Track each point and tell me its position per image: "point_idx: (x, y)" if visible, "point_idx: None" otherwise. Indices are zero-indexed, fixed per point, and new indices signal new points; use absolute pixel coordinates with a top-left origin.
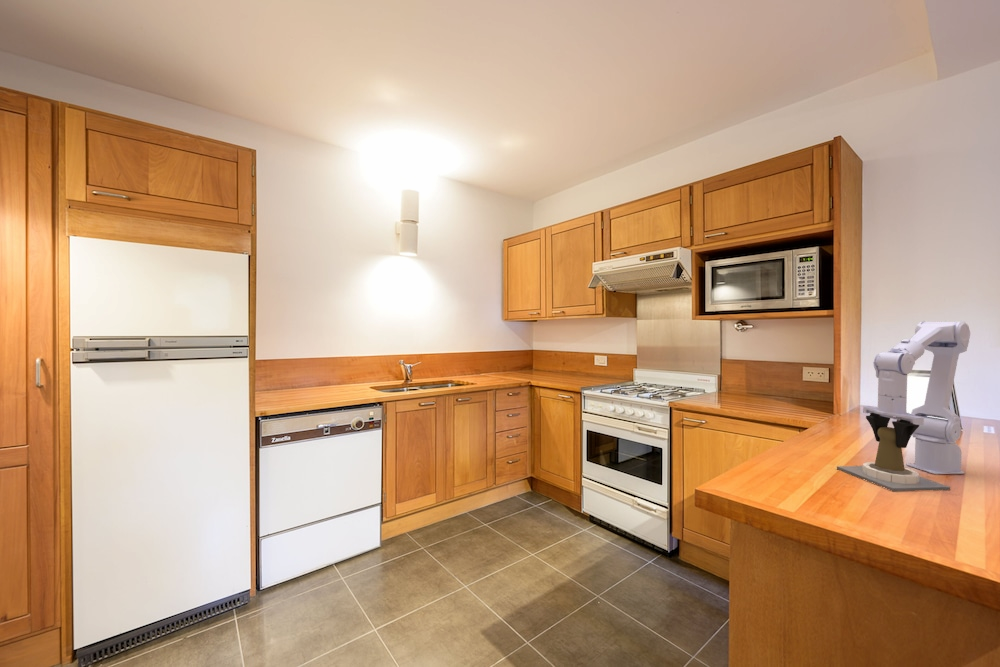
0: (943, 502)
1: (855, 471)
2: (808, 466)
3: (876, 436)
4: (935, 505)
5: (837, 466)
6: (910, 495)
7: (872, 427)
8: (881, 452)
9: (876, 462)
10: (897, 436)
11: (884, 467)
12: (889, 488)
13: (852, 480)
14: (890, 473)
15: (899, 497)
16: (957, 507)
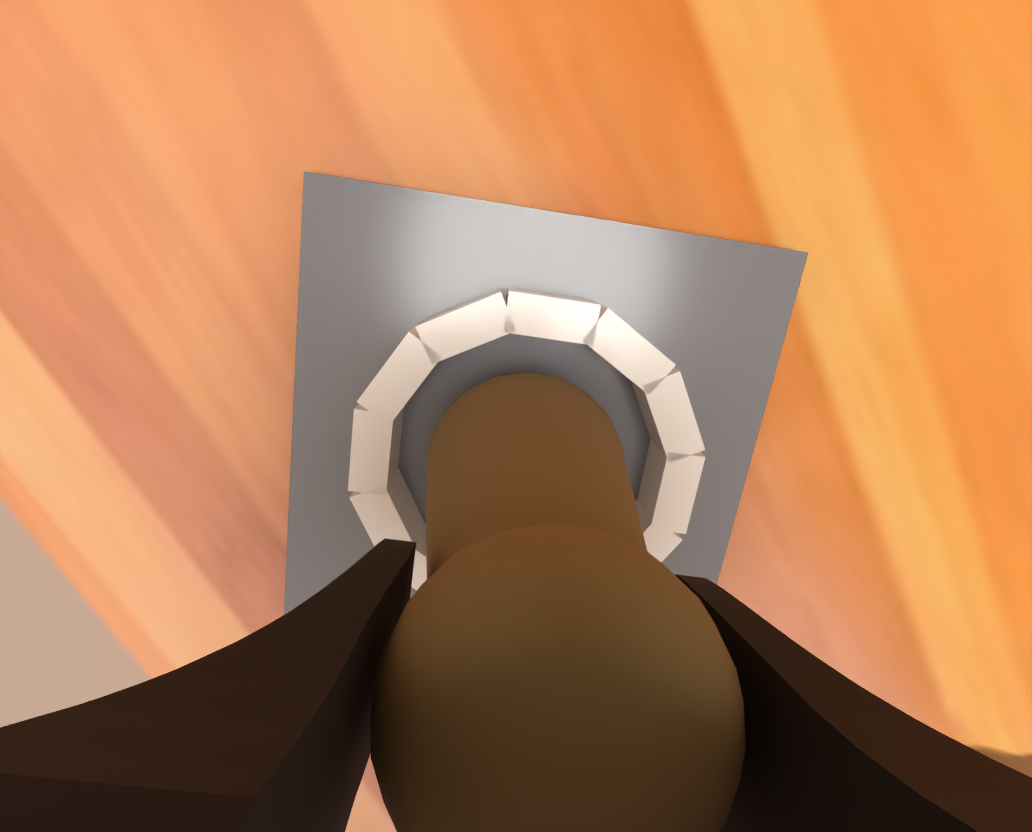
0: (106, 326)
1: (669, 284)
2: (936, 45)
3: (718, 601)
4: (56, 201)
5: (804, 254)
6: (234, 231)
7: (862, 696)
8: (549, 434)
9: (581, 399)
10: (337, 607)
11: (499, 379)
12: (335, 178)
13: (565, 96)
14: (434, 350)
15: (204, 89)
16: (25, 320)
